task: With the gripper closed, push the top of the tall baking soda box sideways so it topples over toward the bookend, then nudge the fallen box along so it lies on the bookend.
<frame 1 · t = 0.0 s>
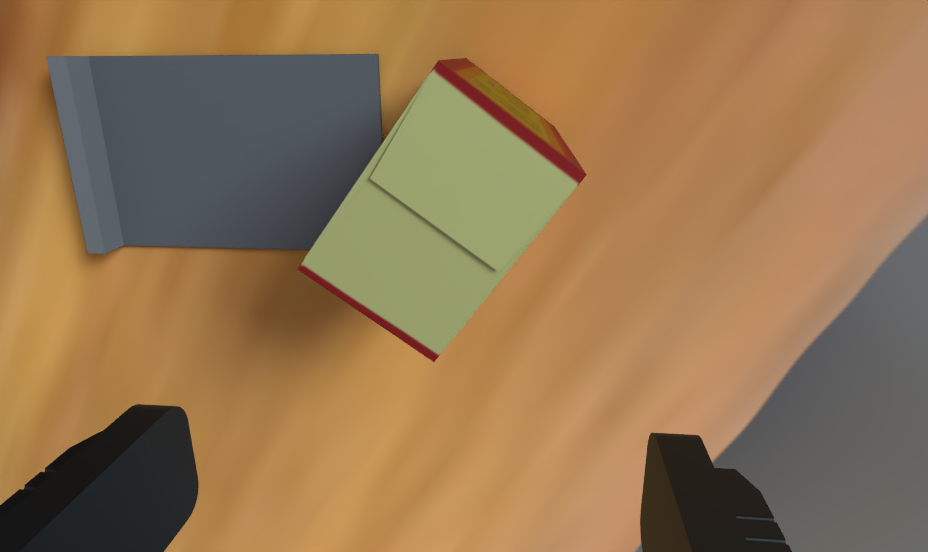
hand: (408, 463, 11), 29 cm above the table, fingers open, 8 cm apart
bookend: (244, 155, 40), on the table
baking soda box: (463, 157, 38), on the table, touching bookend
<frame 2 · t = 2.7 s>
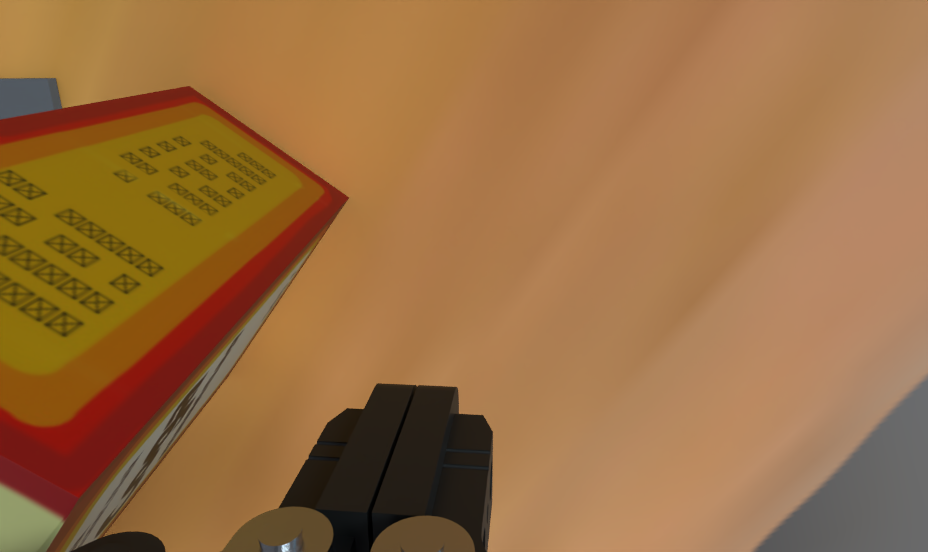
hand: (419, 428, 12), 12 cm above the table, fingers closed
baking soda box: (211, 243, 24), on the table, touching bookend
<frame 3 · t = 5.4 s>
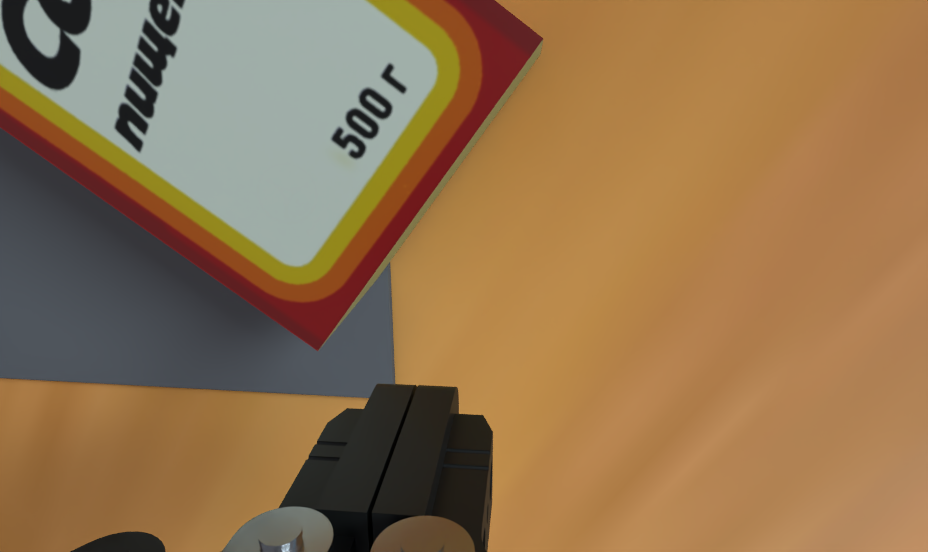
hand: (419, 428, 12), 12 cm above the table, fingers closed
bookend: (157, 242, 24), on the table
baking soda box: (445, 192, 18), point 4 cm above the table, touching bookend
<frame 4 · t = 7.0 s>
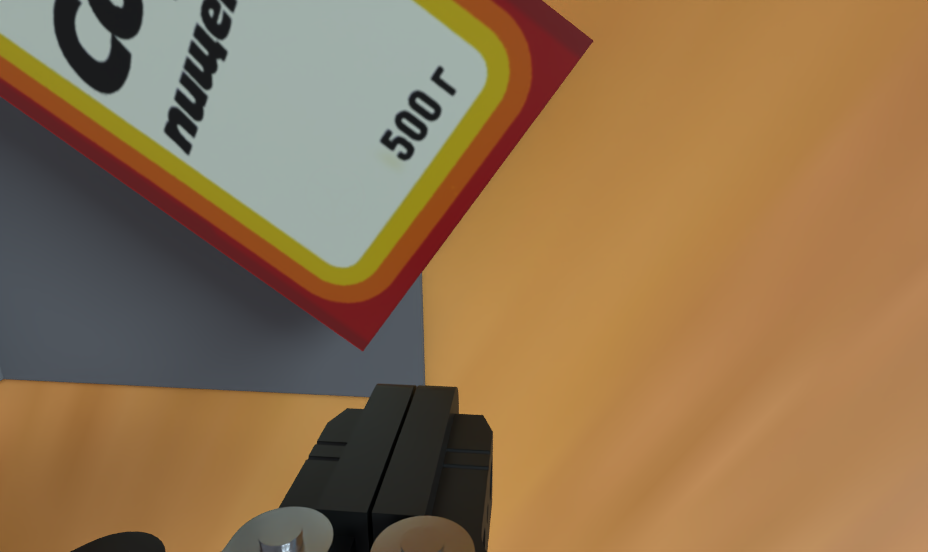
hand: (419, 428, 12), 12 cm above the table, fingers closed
bookend: (189, 244, 24), on the table
baking soda box: (484, 194, 18), point 4 cm above the table, touching bookend
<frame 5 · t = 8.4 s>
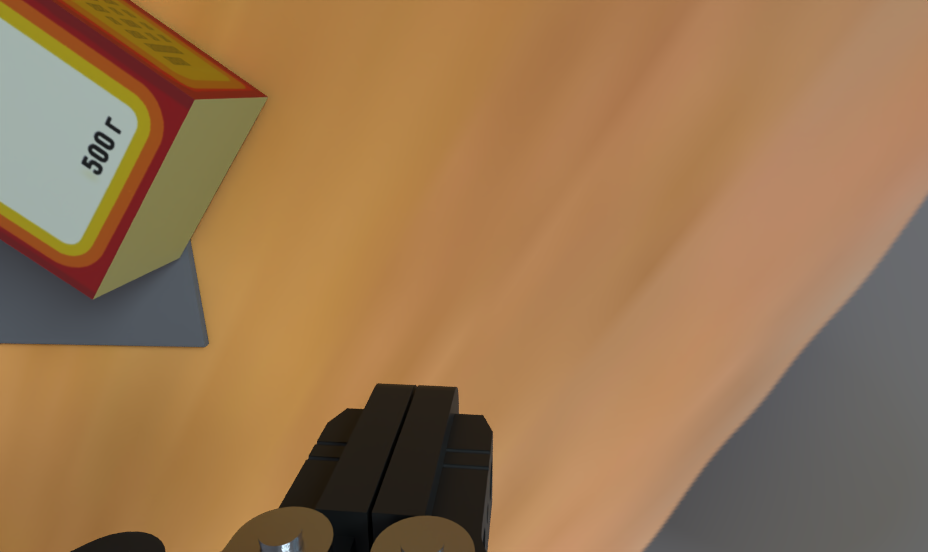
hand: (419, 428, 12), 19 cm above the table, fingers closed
bookend: (27, 236, 33), on the table
baking soda box: (189, 194, 27), point 4 cm above the table, touching bookend
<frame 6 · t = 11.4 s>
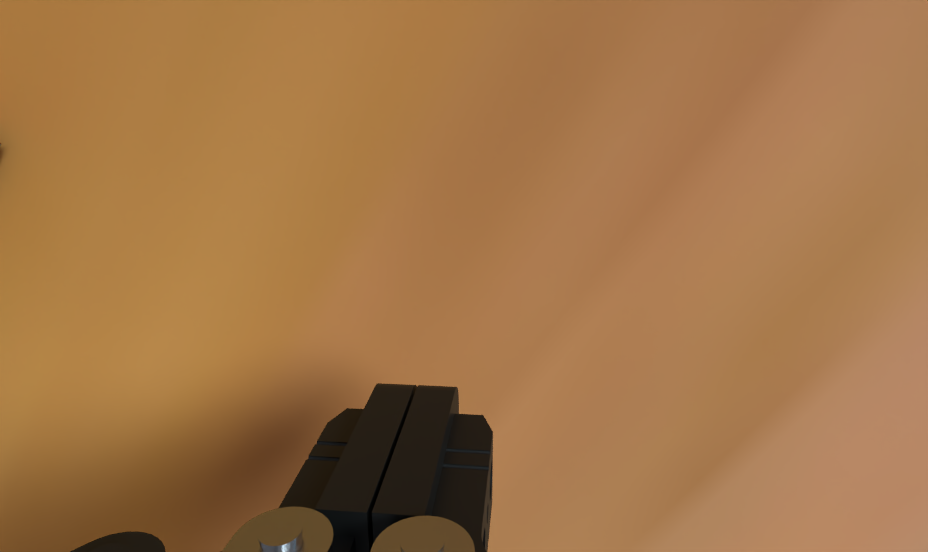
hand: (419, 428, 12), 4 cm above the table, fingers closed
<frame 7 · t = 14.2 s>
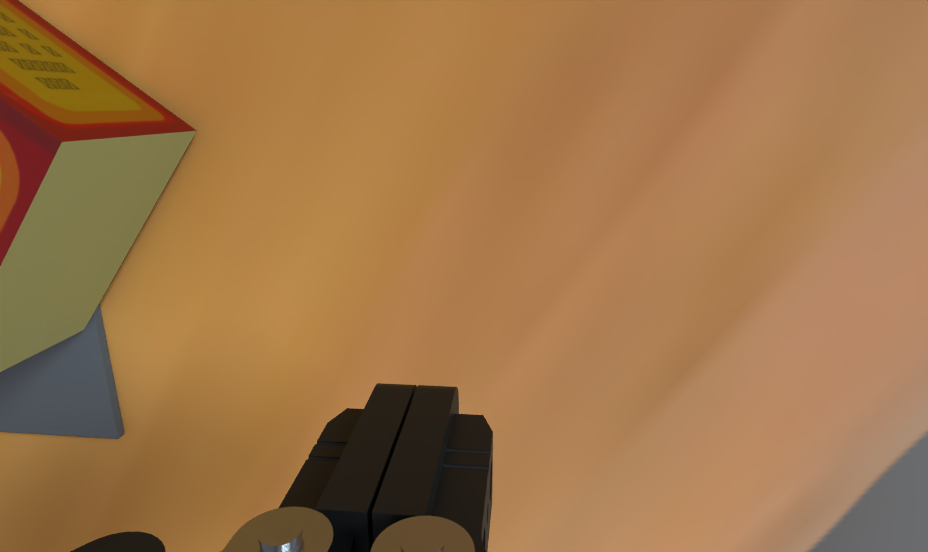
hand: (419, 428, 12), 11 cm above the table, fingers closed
baking soda box: (80, 260, 20), point 4 cm above the table, touching bookend
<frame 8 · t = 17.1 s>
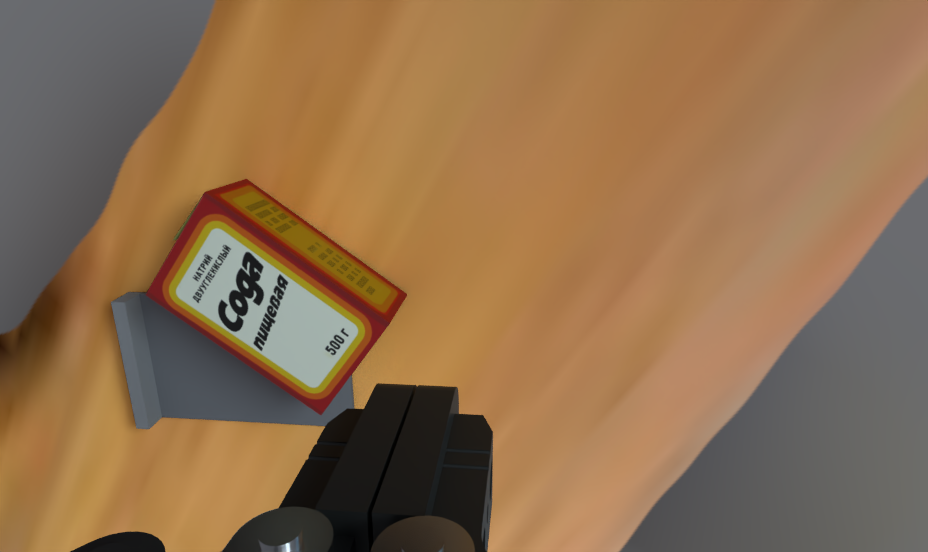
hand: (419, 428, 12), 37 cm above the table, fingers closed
bookend: (250, 359, 55), on the table
baking soda box: (367, 354, 49), point 4 cm above the table, touching bookend
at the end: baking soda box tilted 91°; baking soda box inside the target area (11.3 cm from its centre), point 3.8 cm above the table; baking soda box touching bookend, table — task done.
